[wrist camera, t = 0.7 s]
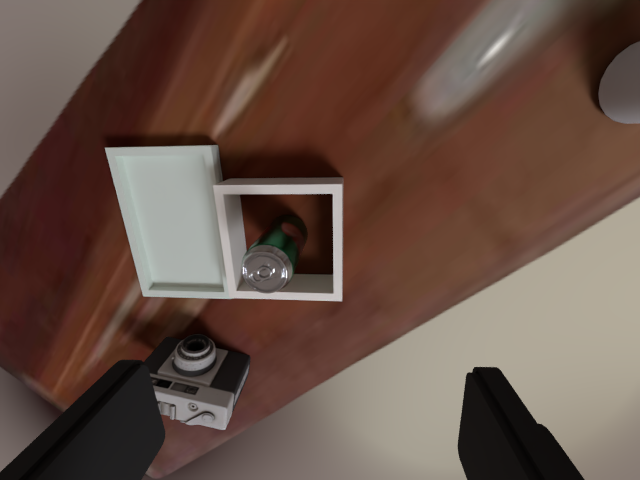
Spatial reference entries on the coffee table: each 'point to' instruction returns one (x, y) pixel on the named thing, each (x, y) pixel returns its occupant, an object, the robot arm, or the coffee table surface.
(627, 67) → the can
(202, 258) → the tray
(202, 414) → the camera
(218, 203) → the holder
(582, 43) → the coffee table surface
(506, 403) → the robot arm
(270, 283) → the soda can
